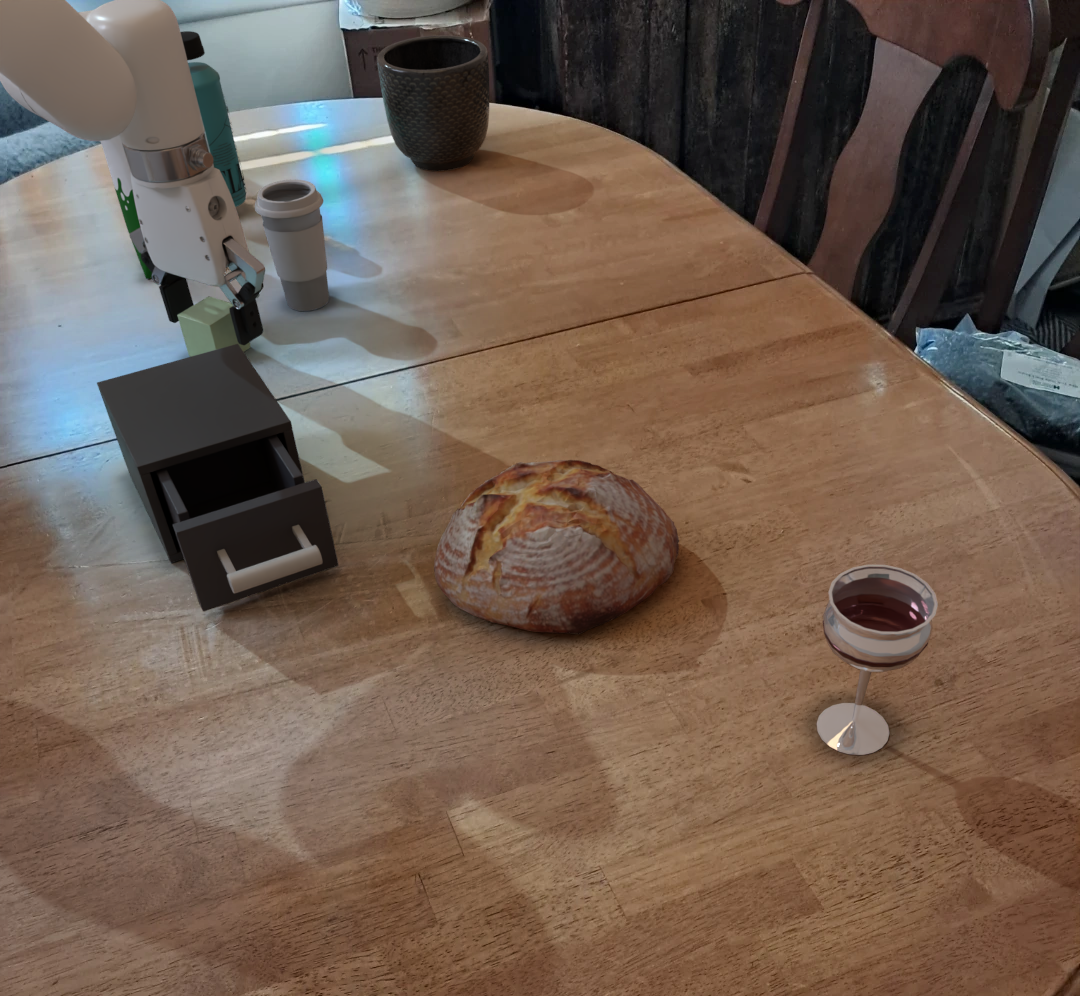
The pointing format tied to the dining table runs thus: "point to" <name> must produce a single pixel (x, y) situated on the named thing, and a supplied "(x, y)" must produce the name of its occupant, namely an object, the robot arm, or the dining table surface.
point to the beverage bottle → (215, 117)
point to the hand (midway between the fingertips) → (216, 327)
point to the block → (208, 326)
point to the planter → (436, 98)
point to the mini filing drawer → (246, 521)
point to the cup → (296, 241)
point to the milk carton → (123, 187)
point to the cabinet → (189, 420)
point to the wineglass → (872, 644)
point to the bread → (555, 547)
